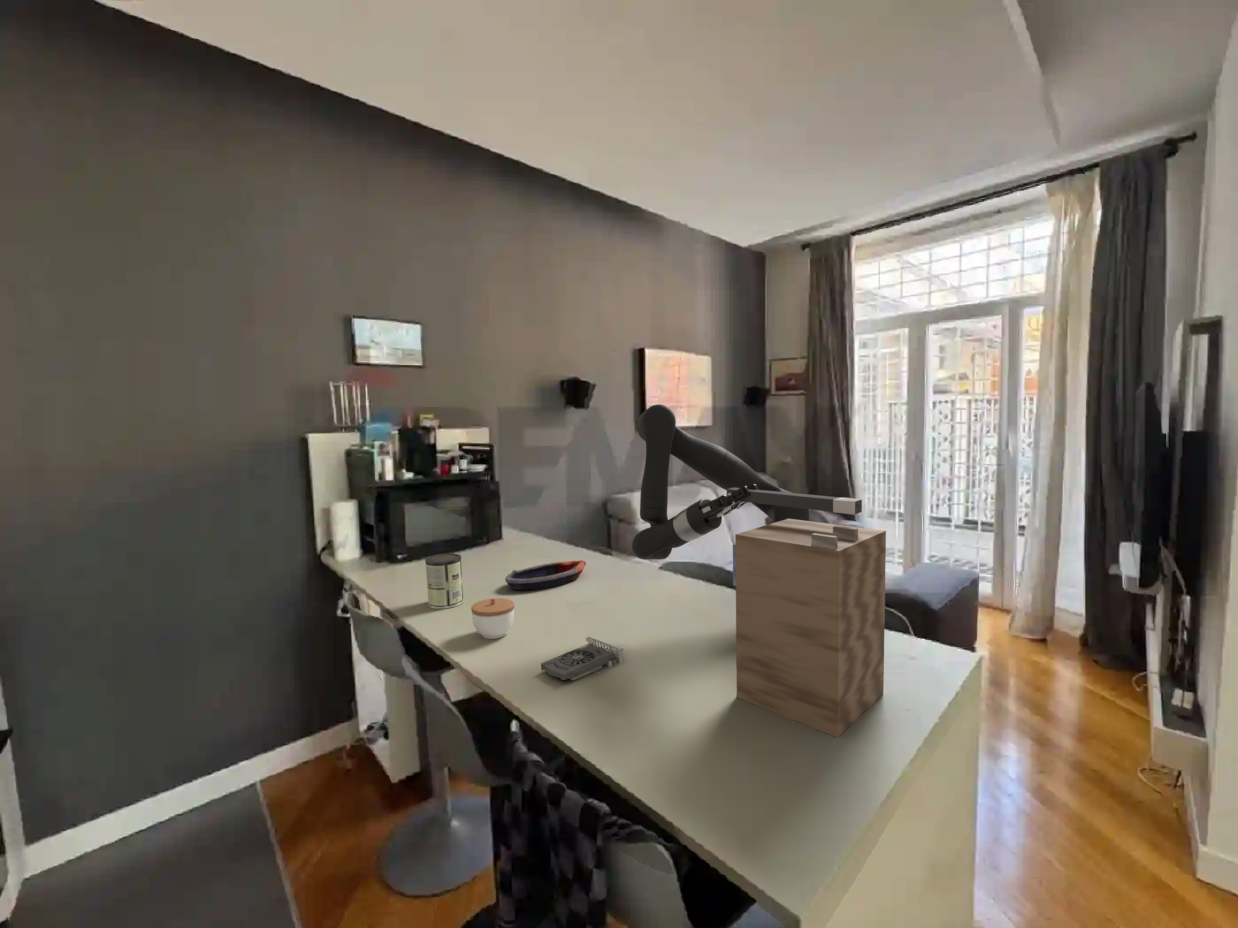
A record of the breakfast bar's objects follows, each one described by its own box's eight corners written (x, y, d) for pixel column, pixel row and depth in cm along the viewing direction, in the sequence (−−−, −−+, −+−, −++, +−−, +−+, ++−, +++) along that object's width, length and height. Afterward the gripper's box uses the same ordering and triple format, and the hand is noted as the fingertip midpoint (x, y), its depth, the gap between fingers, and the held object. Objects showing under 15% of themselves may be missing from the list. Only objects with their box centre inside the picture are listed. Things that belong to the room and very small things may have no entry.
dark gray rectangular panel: (735, 498, 124) (734, 487, 124) (861, 511, 104) (862, 499, 104) (726, 499, 121) (726, 489, 121) (854, 514, 102) (854, 501, 101)
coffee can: (436, 597, 172) (434, 553, 171) (468, 597, 171) (466, 553, 170) (421, 609, 162) (418, 561, 161) (455, 609, 161) (453, 562, 160)
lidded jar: (491, 646, 134) (489, 608, 134) (463, 636, 141) (462, 600, 140) (524, 631, 143) (522, 596, 142) (496, 623, 149) (495, 589, 149)
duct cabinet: (785, 661, 122) (785, 509, 119) (883, 693, 107) (886, 520, 104) (734, 695, 108) (732, 523, 105) (837, 737, 93) (839, 538, 90)
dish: (496, 586, 183) (495, 571, 183) (574, 568, 202) (574, 555, 201) (517, 597, 171) (517, 581, 170) (599, 578, 189) (598, 563, 189)
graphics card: (589, 633, 133) (623, 647, 124) (590, 649, 133) (624, 663, 124) (530, 656, 121) (563, 673, 113) (531, 673, 122) (565, 690, 113)
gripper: (671, 509, 126) (726, 476, 115) (708, 502, 136) (762, 470, 124) (684, 540, 124) (741, 509, 113) (721, 530, 134) (777, 500, 122)
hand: (752, 489), depth 119 cm, fingers closed on dark gray rectangular panel, 3 cm apart
